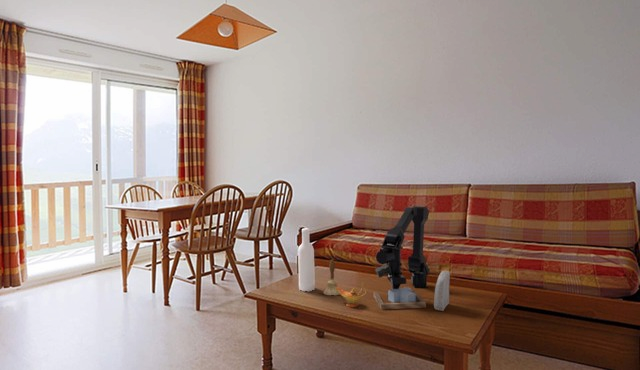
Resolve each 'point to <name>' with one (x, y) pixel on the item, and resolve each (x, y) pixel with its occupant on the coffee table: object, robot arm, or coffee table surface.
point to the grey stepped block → (401, 295)
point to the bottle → (306, 263)
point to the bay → (418, 304)
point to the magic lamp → (350, 295)
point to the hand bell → (331, 281)
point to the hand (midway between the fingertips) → (394, 293)
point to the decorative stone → (442, 291)
